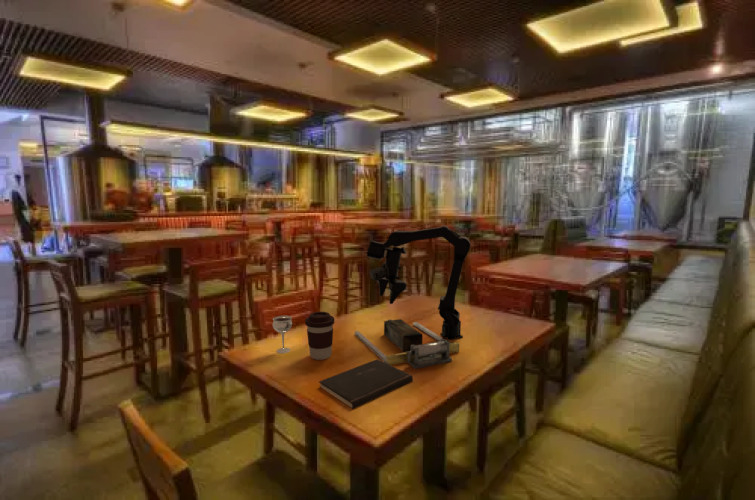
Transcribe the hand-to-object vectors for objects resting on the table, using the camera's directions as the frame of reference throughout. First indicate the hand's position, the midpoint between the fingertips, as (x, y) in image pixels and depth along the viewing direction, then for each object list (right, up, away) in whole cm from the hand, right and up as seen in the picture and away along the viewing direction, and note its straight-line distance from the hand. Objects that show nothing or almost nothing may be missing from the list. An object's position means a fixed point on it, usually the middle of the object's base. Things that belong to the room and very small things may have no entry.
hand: (385, 299), depth 159 cm
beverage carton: (+6, -15, -9) cm, 19 cm away
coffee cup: (-23, -17, -21) cm, 36 cm away
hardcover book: (-7, -21, -41) cm, 47 cm away
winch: (+14, -18, -27) cm, 35 cm away
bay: (+7, -15, -10) cm, 19 cm away
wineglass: (-37, -16, -17) cm, 44 cm away
